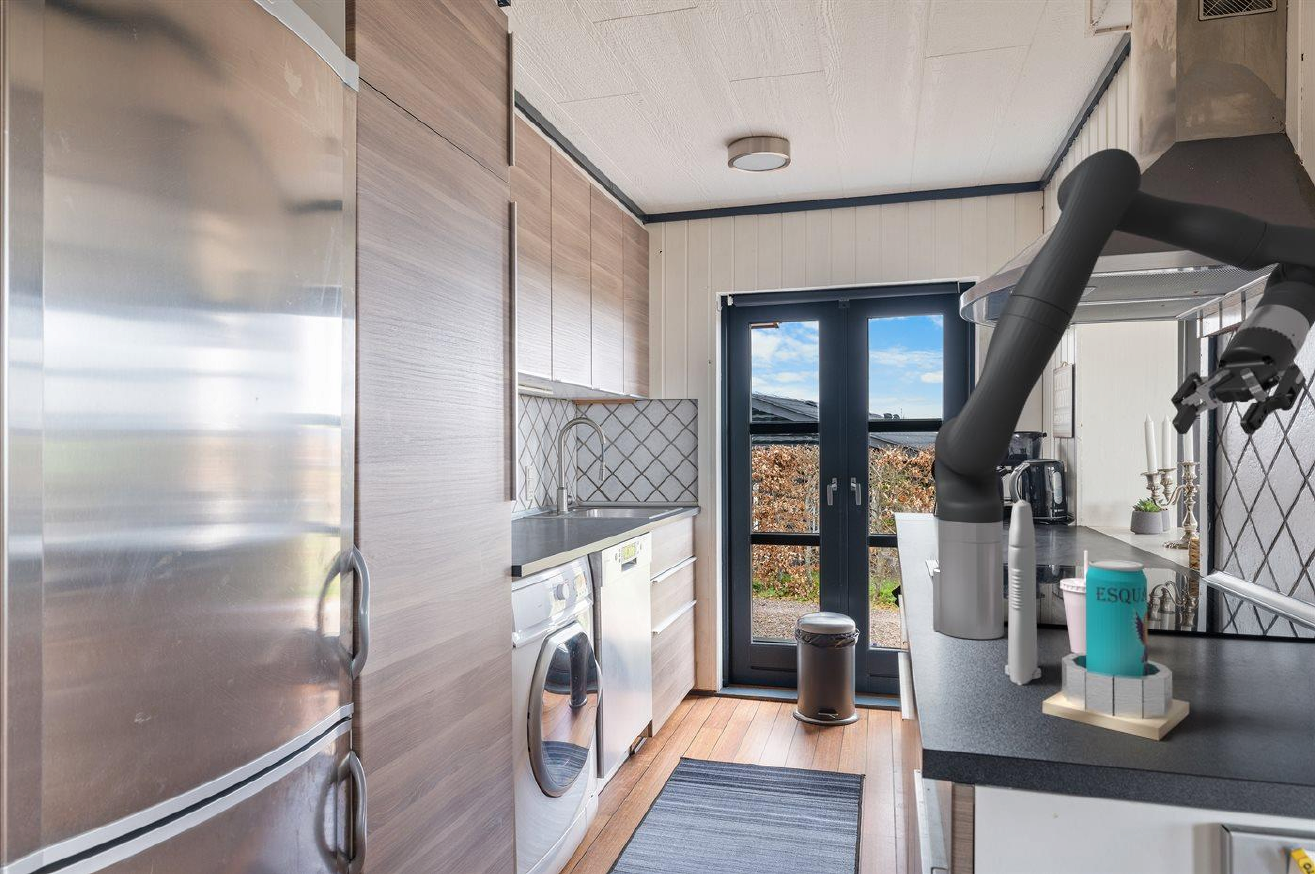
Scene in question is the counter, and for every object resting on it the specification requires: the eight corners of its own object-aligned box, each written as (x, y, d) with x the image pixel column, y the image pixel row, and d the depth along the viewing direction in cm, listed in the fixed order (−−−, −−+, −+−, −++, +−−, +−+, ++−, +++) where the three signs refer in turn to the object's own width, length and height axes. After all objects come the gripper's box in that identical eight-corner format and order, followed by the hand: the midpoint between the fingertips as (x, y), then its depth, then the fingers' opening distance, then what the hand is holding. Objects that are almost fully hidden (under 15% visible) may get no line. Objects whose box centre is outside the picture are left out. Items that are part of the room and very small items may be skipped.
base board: (1042, 712, 86) (1042, 701, 86) (1079, 690, 94) (1079, 680, 94) (1158, 740, 78) (1158, 728, 78) (1189, 713, 86) (1189, 702, 86)
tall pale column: (1036, 688, 94) (1035, 503, 94) (999, 683, 97) (997, 502, 97) (1045, 666, 103) (1044, 497, 103) (1010, 661, 106) (1009, 496, 106)
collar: (1049, 701, 86) (1048, 664, 86) (1082, 681, 93) (1082, 647, 93) (1154, 725, 79) (1154, 685, 79) (1182, 702, 86) (1182, 665, 86)
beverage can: (1147, 714, 82) (1146, 569, 82) (1084, 704, 85) (1083, 564, 85) (1148, 698, 87) (1147, 561, 87) (1088, 690, 90) (1087, 557, 90)
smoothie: (1118, 651, 110) (1117, 550, 110) (1105, 660, 106) (1104, 555, 106) (1068, 643, 115) (1067, 546, 115) (1054, 652, 110) (1053, 551, 110)
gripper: (1198, 332, 114) (1145, 411, 110) (1312, 318, 101) (1257, 407, 97) (1222, 370, 116) (1171, 449, 112) (1337, 361, 103) (1284, 450, 99)
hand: (1211, 429), depth 104 cm, fingers open, 8 cm apart
